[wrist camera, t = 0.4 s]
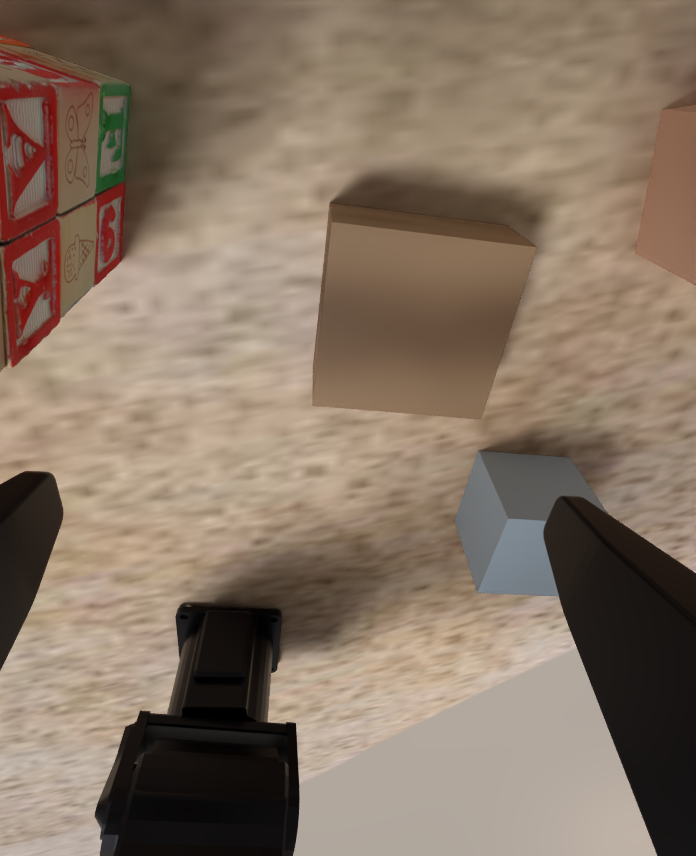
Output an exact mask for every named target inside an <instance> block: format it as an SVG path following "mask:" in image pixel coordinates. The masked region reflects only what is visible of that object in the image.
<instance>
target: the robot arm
mask: <svg viewBox="0 0 696 856" xmlns="http://www.w3.org/2000/svg"><path fill="white" fill-rule="evenodd" d="M62 520H63V506H62V502H61V498H60V495H59V491H58V487H57V483H56V480H55V477H54V476H53V474H51V473H49V472H41V471H25V472H22V473H20V474H18V475H16V476H15V477H13V478H11V479H9V480H7V481H6V482H4V483H2V484H0V670H1V668H2V666H3V664H4V662H5V660H6V658H7V656H8V654H9V652H10V650H11V648H12V646H13V644H14V642H15V640H16V638H17V636H18V634H19V632H20V629H21V627H22V625H23V623H24V621H25V619H26V617H27V615H28V613H29V611H30V609H31V606H32V604H33V602H34V599H35V597H36V594H37V592H38V589H39V586H40V583H41V580H42V578H43V575H44V572H45V569H46V566H47V563H48V561H49V558H50V555H51V552H52V549H53V546H54V543H55V541H56V538H57V535H58V532H59V529H60V526H61V524H62ZM543 538H544V543H545V546H546V550H547V554H548V557H549V561H550V565H551V569H552V572H553V576H554V580H555V584H556V587H557V591H558V595H559V598H560V602H561V605H562V609H563V612H564V615H565V617H566V620H567V623H568V626H569V628H570V631H571V634H572V636H573V639H574V641H575V644H576V646H577V649H578V652H579V654H580V657H581V659H582V662H583V665H584V667H585V670H586V672H587V675H588V677H589V680H590V683H591V685H592V687H593V690H594V693H595V695H596V698H597V701H598V703H599V706H600V708H601V711H602V714H603V716H604V719H605V721H606V724H607V727H608V729H609V732H610V734H611V737H612V739H613V742H614V745H615V747H616V750H617V752H618V755H619V758H620V760H621V763H622V765H623V768H624V770H625V773H626V776H627V778H628V781H629V783H630V786H631V788H632V791H633V794H634V796H635V799H636V801H637V804H638V807H639V809H640V812H641V814H642V817H643V819H644V822H645V825H646V827H647V830H648V833H649V835H650V837H651V840H652V843H653V845H654V848H655V851H656V853H657V856H696V573H695V572H693V571H692V570H690V569H689V568H687V567H686V566H684V565H683V564H681V563H680V562H678V561H677V560H675V559H674V558H672V557H671V556H669V555H668V554H666V553H665V552H663V551H662V550H660V549H659V548H657V547H656V546H655V545H653V544H652V543H650V542H649V541H647V540H646V539H644V538H643V537H641V536H640V535H638V534H637V533H635V532H634V531H632V530H631V529H629V528H628V527H626V526H625V525H623V524H622V523H620V522H619V521H617V520H616V519H614V518H613V517H612V516H610V515H609V514H607V513H606V512H604V511H603V510H601V509H600V508H598V507H597V506H595V505H594V504H592V503H591V502H589V501H588V500H586V499H585V498H583V497H580V496H566V495H563V496H559V497H558V498H557V499H556V501H555V503H554V505H553V507H552V510H551V512H550V514H549V517H548V519H547V521H546V523H545V526H544V530H543ZM281 621H282V613H281V612H280V611H278V610H270V609H242V608H213V607H180V608H178V610H177V613H176V626H177V636H178V646H179V657H180V662H179V666H178V670H177V674H176V679H175V683H174V687H173V691H172V696H171V700H170V704H169V708H168V713H167V714H155V713H150V711H140V713H139V716H138V719H137V722H135V723H134V724H131V725H129V726H126V727H125V730H124V734H123V737H122V740H121V744H120V747H119V750H118V754H117V757H116V760H115V762H114V765H113V767H112V770H111V772H110V775H109V777H108V779H107V782H106V784H105V787H104V789H103V792H102V794H101V796H100V799H99V801H98V804H97V807H96V811H95V818H96V820H97V822H98V824H99V825H100V827H101V835H100V840H102V844H101V851H100V856H293V853H294V848H295V843H296V836H297V829H298V818H299V774H298V755H297V735H296V723H292V722H286V724H282V723H269V722H267V721H268V708H269V695H270V681H271V673H273V672H275V671H277V665H278V654H279V643H280V632H281Z"/></svg>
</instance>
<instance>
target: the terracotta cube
mask: <svg viewBox="0 0 696 856" xmlns="http://www.w3.org/2000/svg"><path fill="white" fill-rule="evenodd" d="M635 253H636V254H638V255H640V256H642V257H644V258H646V259H647V260H649V261H651V262H653V263H655V264H657V265H659V266H661V267H662V268H664V269H666V270H668V271H670V272H672V273H674V274H676V275H677V276H679V277H681V278H683V279H685V280H687V281H689V282H691V283H692V284H694V285H696V105H690V106H683V107H677V108H671V109H664V110H662V112H661V117H660V122H659V128H658V133H657V139H656V144H655V149H654V155H653V160H652V166H651V171H650V176H649V182H648V187H647V193H646V198H645V203H644V209H643V214H642V220H641V225H640V230H639V236H638V241H637V247H636V252H635Z"/></svg>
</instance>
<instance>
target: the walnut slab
mask: <svg viewBox="0 0 696 856" xmlns="http://www.w3.org/2000/svg"><path fill="white" fill-rule="evenodd" d="M536 250H537V247H536V246H535V245H533V244H532V243H531V242H529V241H528V240H527V239H525V238H524V237H523V236H521V235H520V234H518V233H517V232H516V231H514V230H513V229H512V228H510V227H509V226H507V225H499V224H492V223H484V222H476V221H468V220H460V219H453V218H445V217H437V216H429V215H422V214H414V213H406V212H398V211H390V210H383V209H375V208H367V207H359V206H352V205H344V204H336V203H330V205H329V215H328V225H327V235H326V245H325V255H324V264H323V274H322V284H321V294H320V304H319V314H318V324H317V334H316V343H315V353H314V363H313V406H323V407H335V408H347V409H359V410H372V411H384V412H396V413H408V414H420V415H433V416H445V417H457V418H469V419H481V418H482V415H483V412H484V408H485V405H486V402H487V399H488V396H489V393H490V390H491V387H492V384H493V381H494V378H495V375H496V372H497V369H498V366H499V363H500V360H501V357H502V354H503V350H504V347H505V344H506V341H507V338H508V335H509V332H510V329H511V326H512V323H513V320H514V317H515V314H516V311H517V308H518V305H519V302H520V299H521V296H522V293H523V289H524V286H525V283H526V280H527V277H528V274H529V271H530V268H531V265H532V262H533V259H534V256H535V253H536Z"/></svg>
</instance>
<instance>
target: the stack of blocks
mask: <svg viewBox="0 0 696 856" xmlns="http://www.w3.org/2000/svg"><path fill="white" fill-rule="evenodd" d="M130 90H131V88H130V84H128V83H127V82H125V81H122V80H119V79H116V78H113V77H110V76H108V75H105V74H102V73H99V72H96V71H93V70H90V69H87V68H85V67H82V66H79V65H76V64H73V63H71V62H68V61H65V60H62V59H59V58H56V57H54V56H51V55H48V54H45V53H42V52H39V51H37V50H34V49H33V48H31V47H30V46H29V45H27V44H25V43H23V42H20V41H17V40H14V39H11V38H8V37H5V36H2V35H0V372H1V370H2V369H3V368H4V367H14V366H15V365H17V364H18V363H19V362H20V361H21V360H22V359H23V358H24V357H25V356H27V355H28V354H29V353H30V351H31V350H32V349H33V348H34V347H36V346H37V345H38V344H39V343H40V342H41V341H42V339H43V338H45V337H46V336H48V335H49V333H50V332H51V331H52V329H54V328H55V327H56V326H57V325H58V323H59V322H60V318H62V317H63V316H64V315H65V314H66V313H67V312H68V311H69V310H70V309H71V308H72V307H73V306H74V305H75V304H76V303H77V302H78V301H79V300H80V299H81V298H82V297H83V296H84V295H85V294H86V293H87V292H88V291H89V290H90V289H91V288H92V287H95V285H97V284H98V283H99V282H100V281H101V280H102V279H103V278H105V277H106V275H107V274H108V273H109V272H111V271H112V270H113V269H114V268H115V267H116V266H117V265H118V264H119V263H120V260H121V245H122V231H123V215H124V196H125V182H124V174H125V159H126V145H127V131H128V116H129V101H130Z"/></svg>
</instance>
